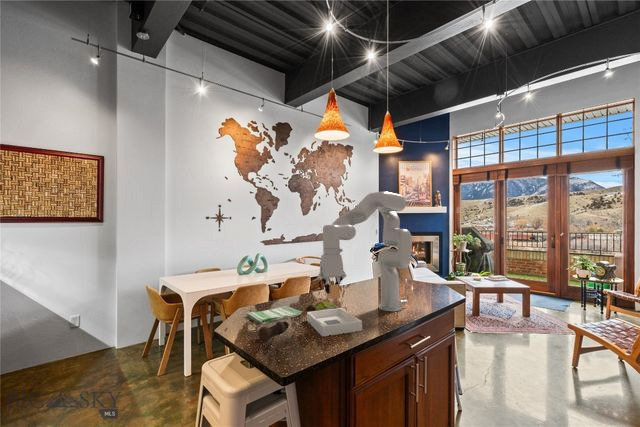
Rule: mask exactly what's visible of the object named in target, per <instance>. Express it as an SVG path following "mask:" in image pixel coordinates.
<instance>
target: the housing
mask: <svg viewBox="0 0 640 427" xmlns="http://www.w3.org/2000/svg"><path fill="white" fill-rule="evenodd" d="M306 321H307V322H308V323H309V325H311V326H312V327H313V328H314V329H315V331H316V332H317V333H318V334H319V335H320V336H321V337H323V336H324V337H328V336H329V335H331V336H336V335H342V334H343V333H344V334H349V333H354V332H356V331H357V332H362V331H363V320H361V319H360V318H358V317H356V316H354V314H351V313H350V312H348V311H347V310H346V309H344V308H343V307H338V308H336V309H328V310H320V311H317V310H314V311H313V310H312V311H307V312H306ZM324 337H323V338H324ZM329 337H330V336H329Z"/></svg>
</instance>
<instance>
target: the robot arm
mask: <svg viewBox="0 0 640 427" xmlns="http://www.w3.org/2000/svg"><path fill="white" fill-rule="evenodd" d="M406 206H407V200H406V198H405V197H404V195H402V194H398V193H394V192H389V191H375V192H369V193H368V194H367V195H365V197H364V198H362V200H360V202H359V203H357V205H356V206H355V207H354V208H352V209H349V211H347V212H345V213H343V214H341V215H340V216H339V217H338V218H336V219H335V220H334V221H333V222H332V224H325V225H323V227H322V248H323V249H322V250H323V252H322V253H323V254H322V255H321V257H320V263H319V264H320V265H319V273H318V275H317V277H316V278H317V279H318V280H320V281H321V282H322V283H323V284H324V292H325V293H326V294H327V293H328V294H329V285H330V284H329V281H330V278H334V279H335V280H334V281H335V282H334V285H335V284H339V289H341V288H340V284H341V282H342V281H343V280H344V279H345V278H347V274H346V272H345V270H344V264H343V262H344V261H343V257H342V254H341V253H342V252H343V248H340V244H341V243H340V241H350V240H352V239H354V238H355V236H356V235H357V233H356V232H357V230H356V228H355V226H354V225H359V224H361V223H363V222H366V221H367V220H368V219H369V218H370V217H371V216H372V215H373V214H374V213H375V211H377V210H378V212H379V213H381V216H382V218H383V229H382V243H383V245H384V246H386V247H395V248H396V249H395V248H383V249H382V250H380V251H379V253H378V254H377V260H378V265H379V266H378V267H379V271H380V274H379V275H380V304H379V305H378V309H379V310H381V311H384V312H400V311H402V310H403V309H404V306H403V305H404V304H408V300H407V299H401V298H400V282H399V281H400V278H399V277H400V275H399V272H398V269H406V268H408V267H409V266H410V264H411V260H412V259H411V258H412V250H413V249H412V248H413V247H412V245H413V236H412V234H411V232H410V231H409V230H408V229H405V228H401V227H400V226H401V225H400V224H401V221H400V217H399V214H397V212H402V211H404V209H406Z"/></svg>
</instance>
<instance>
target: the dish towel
mask: <svg viewBox="0 0 640 427" xmlns="http://www.w3.org/2000/svg"><path fill="white" fill-rule="evenodd" d="M302 313H303V311H302V310H297V309H296V308H293V307H290V306H288V305H283V306H280V307H275V308H271V309H267V310H260V311H259V310H258V311H255V312H254V311H252V312H246V315H247V316H246V317H247V318H248V317H249V319H250V318H251V319H250V320H252V321H254V322H255V323H257V324H259V325H261V326H263V325H265V324H270V323H274V322H279V321H282V320H286V319H290V318H294V317H298V316H301V315H302Z"/></svg>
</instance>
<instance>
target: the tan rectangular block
mask: <svg viewBox="0 0 640 427" xmlns="http://www.w3.org/2000/svg"><path fill="white" fill-rule="evenodd" d="M329 281H330V284H329V294H328V293H326V300H333V299H334V300H335V299H341V290H340V289H341V288H340V289H339V284H335V280H329Z"/></svg>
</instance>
